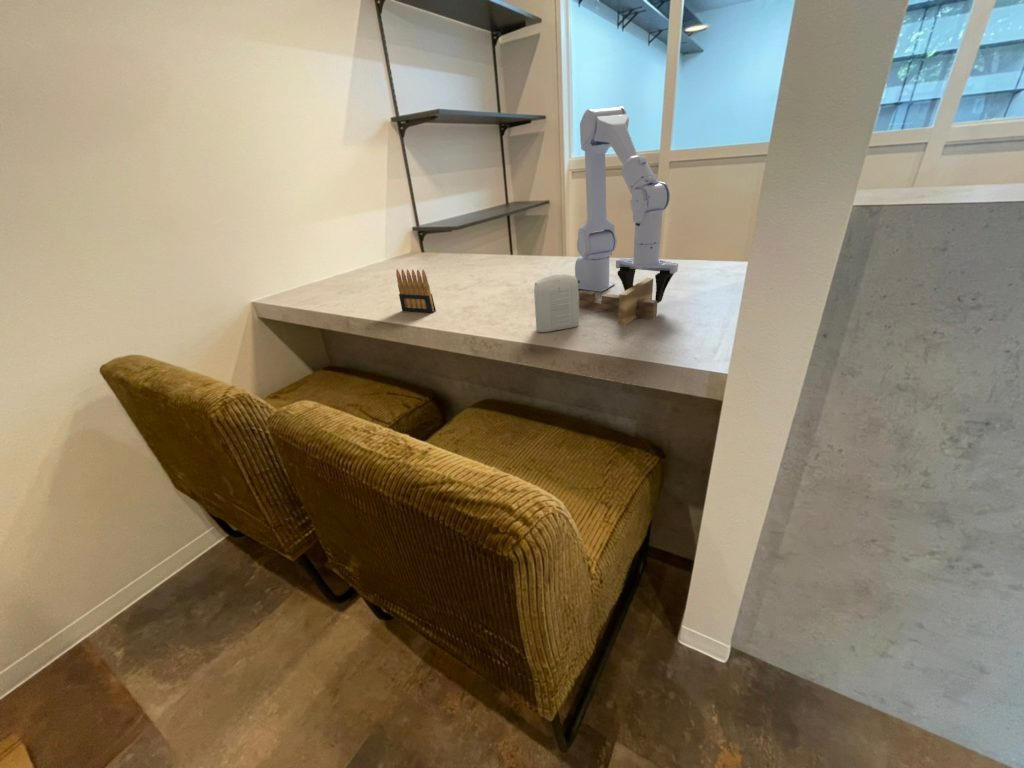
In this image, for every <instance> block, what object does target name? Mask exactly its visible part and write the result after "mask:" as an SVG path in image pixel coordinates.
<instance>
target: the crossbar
mask: <svg viewBox="0 0 1024 768" xmlns="http://www.w3.org/2000/svg"><path fill="white" fill-rule="evenodd" d="M653 289H654V278H652V277H646V278H644V279H643V280H641V281H640V282H637V283H636V284H633V287H631V288H629V289H627V290H626V291H625V290H624V291H622V292H621V293H619V294H618V295H619V314H618V323H617V324H620V325H622V326H623V325H624V326H625V325H627V324H628V323H629V322H631V321H632V320H634V319H635V318H637V317H636V308H637V307H638V306H639V301H640V300H642V299H650V300H653V292H654V290H653Z"/></svg>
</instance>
